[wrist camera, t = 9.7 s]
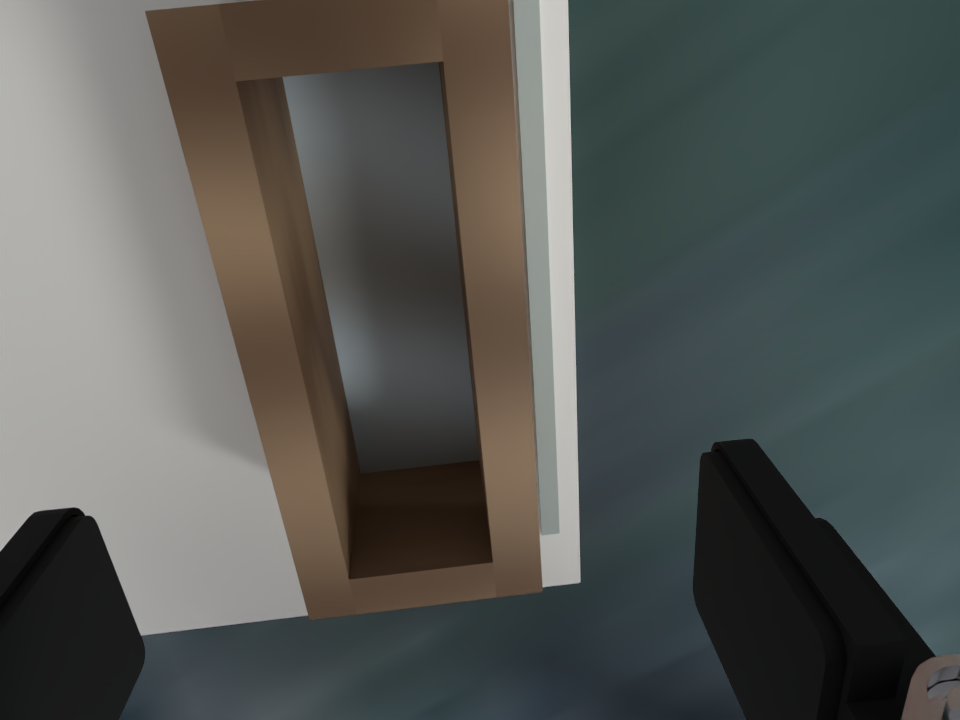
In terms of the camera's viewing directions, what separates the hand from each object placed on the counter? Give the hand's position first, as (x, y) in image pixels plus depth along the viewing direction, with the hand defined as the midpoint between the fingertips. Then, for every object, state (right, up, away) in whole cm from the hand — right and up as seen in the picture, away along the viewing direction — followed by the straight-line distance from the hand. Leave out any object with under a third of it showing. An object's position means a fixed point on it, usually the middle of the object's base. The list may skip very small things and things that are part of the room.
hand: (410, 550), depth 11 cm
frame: (-1, +5, +8) cm, 10 cm away
